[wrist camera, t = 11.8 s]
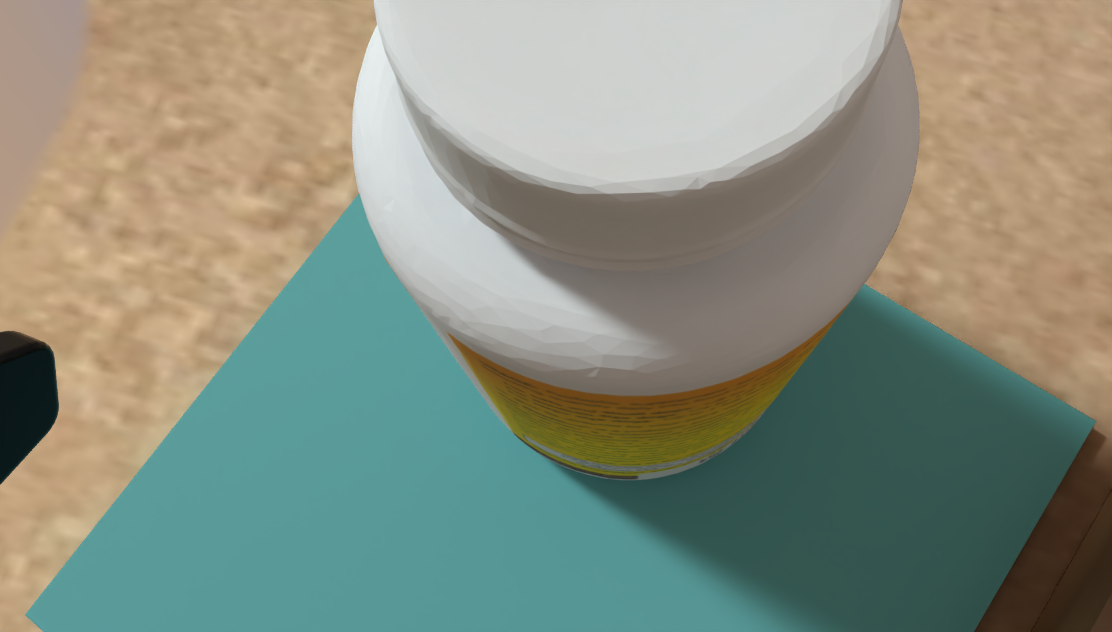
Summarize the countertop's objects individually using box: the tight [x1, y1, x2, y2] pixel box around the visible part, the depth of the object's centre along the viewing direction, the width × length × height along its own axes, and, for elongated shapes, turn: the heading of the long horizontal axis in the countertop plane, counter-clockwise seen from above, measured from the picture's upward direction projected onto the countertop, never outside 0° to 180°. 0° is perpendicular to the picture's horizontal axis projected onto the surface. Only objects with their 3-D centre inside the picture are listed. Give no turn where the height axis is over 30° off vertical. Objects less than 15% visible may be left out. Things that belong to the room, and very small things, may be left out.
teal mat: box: [25, 193, 1096, 632], centre depth 16 cm, size 13×13×1 cm
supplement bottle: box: [352, 0, 919, 480], centre depth 12 cm, size 6×6×10 cm
